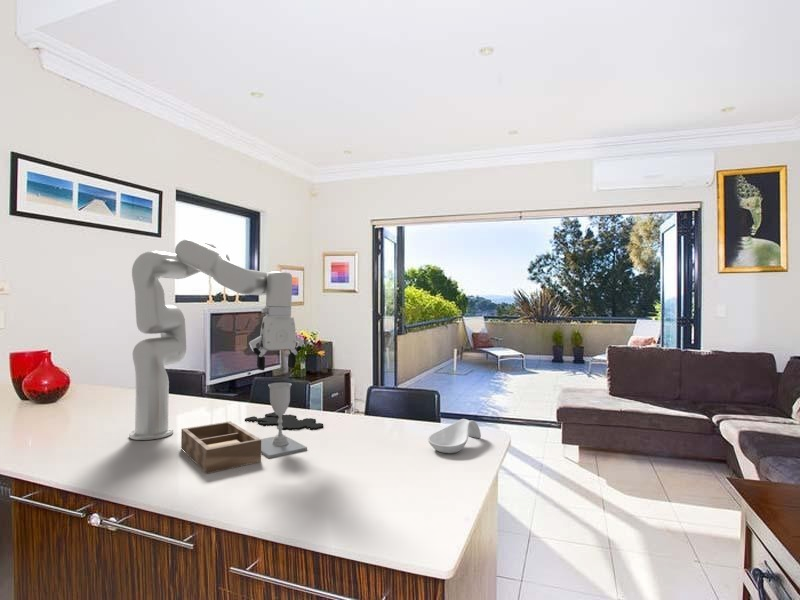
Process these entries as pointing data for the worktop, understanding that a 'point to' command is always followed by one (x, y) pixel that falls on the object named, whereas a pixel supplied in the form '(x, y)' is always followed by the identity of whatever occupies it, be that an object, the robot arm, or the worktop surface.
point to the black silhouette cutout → (287, 422)
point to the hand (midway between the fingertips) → (276, 368)
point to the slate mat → (280, 447)
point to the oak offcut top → (223, 443)
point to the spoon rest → (454, 436)
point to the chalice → (280, 407)
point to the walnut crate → (222, 456)
